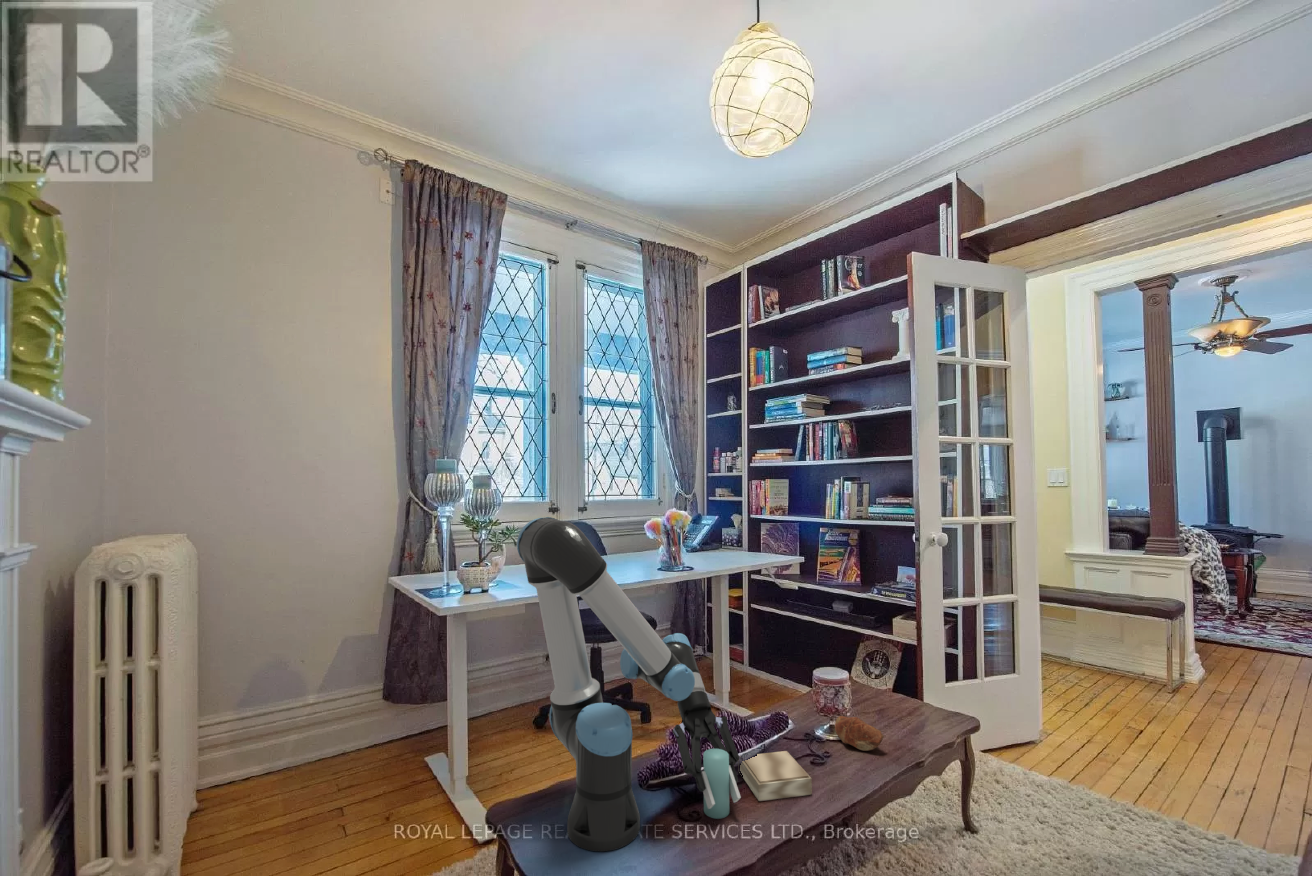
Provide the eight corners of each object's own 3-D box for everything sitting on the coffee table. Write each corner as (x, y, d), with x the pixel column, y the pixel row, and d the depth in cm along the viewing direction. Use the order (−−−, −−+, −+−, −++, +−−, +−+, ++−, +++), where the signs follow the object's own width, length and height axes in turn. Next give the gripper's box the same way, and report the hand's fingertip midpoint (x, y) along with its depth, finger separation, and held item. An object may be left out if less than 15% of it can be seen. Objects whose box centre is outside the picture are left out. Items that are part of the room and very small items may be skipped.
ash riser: (758, 801, 129) (758, 782, 129) (738, 771, 141) (738, 755, 142) (811, 794, 131) (811, 776, 131) (787, 766, 144) (787, 749, 144)
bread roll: (826, 722, 161) (846, 696, 159) (847, 731, 164) (868, 705, 162) (848, 759, 149) (870, 731, 147) (870, 769, 152) (893, 741, 150)
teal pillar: (708, 820, 122) (707, 762, 122) (700, 805, 127) (700, 750, 128) (733, 816, 123) (732, 759, 124) (724, 802, 128) (724, 747, 129)
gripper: (719, 698, 144) (755, 800, 127) (651, 709, 137) (680, 819, 121) (730, 684, 139) (768, 787, 123) (660, 695, 132) (690, 806, 116)
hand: (724, 803), depth 122 cm, fingers closed on teal pillar, 5 cm apart
